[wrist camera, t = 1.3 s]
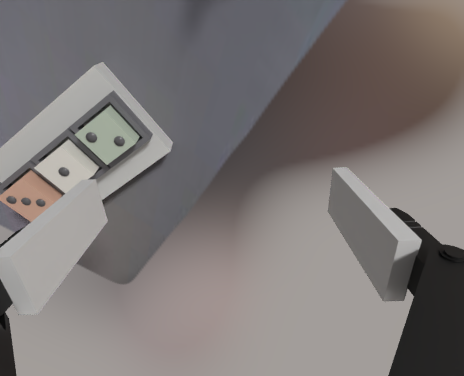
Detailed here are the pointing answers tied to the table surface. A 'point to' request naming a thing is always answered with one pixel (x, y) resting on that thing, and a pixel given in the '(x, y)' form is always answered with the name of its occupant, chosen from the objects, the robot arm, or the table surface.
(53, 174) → the one dot tile
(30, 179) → the three dot tile
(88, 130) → the two dot tile
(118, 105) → the tile tray
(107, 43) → the table surface
